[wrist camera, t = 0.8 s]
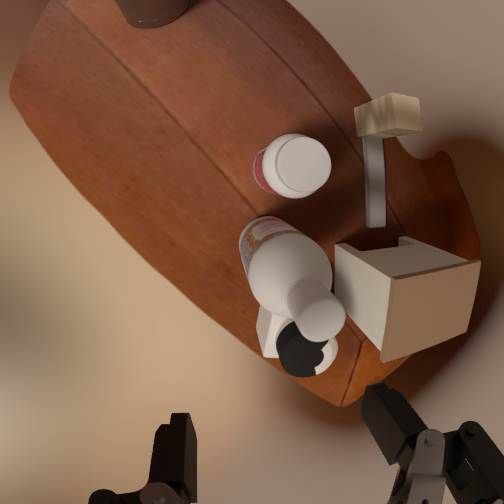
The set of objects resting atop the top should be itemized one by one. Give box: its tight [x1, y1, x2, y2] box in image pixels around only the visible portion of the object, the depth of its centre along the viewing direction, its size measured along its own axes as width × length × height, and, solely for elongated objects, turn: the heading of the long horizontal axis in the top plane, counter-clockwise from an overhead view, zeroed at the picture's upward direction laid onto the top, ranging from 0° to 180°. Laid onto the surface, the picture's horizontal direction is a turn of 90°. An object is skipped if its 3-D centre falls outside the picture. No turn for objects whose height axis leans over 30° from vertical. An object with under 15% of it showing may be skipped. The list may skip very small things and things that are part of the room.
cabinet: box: [334, 236, 481, 363], centre depth 30 cm, size 9×13×15 cm
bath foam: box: [239, 216, 346, 342], centre depth 25 cm, size 7×7×20 cm
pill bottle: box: [253, 134, 331, 198], centre depth 27 cm, size 6×6×11 cm
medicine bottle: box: [256, 304, 338, 377], centre depth 31 cm, size 7×7×12 cm
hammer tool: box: [354, 92, 423, 228], centre depth 29 cm, size 16×4×9 cm, turn 5°
